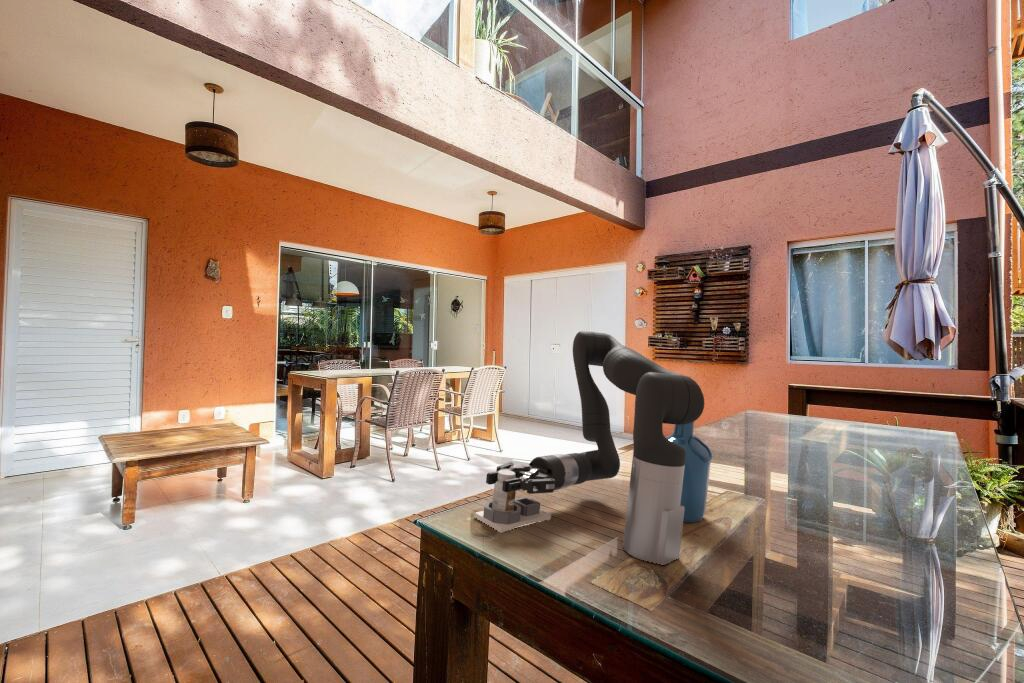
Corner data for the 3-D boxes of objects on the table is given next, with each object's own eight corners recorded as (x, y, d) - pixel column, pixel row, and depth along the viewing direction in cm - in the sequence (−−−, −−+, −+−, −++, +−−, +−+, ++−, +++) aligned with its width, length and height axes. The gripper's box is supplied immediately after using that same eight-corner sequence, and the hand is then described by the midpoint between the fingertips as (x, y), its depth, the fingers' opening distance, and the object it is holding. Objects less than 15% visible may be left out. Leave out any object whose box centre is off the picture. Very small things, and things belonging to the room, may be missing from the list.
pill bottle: (511, 516, 87) (515, 477, 87) (489, 512, 88) (493, 473, 88) (515, 509, 91) (519, 471, 91) (494, 505, 92) (498, 467, 92)
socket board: (550, 519, 94) (552, 505, 94) (500, 532, 84) (502, 516, 84) (523, 506, 99) (525, 493, 99) (474, 517, 90) (476, 502, 90)
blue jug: (634, 507, 107) (648, 383, 107) (663, 499, 116) (676, 384, 116) (689, 529, 97) (704, 391, 97) (716, 519, 106) (730, 392, 106)
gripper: (532, 447, 105) (475, 454, 93) (580, 464, 94) (522, 474, 83) (529, 479, 105) (471, 490, 93) (577, 499, 94) (518, 514, 82)
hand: (495, 482), depth 88 cm, fingers closed on pill bottle, 4 cm apart
